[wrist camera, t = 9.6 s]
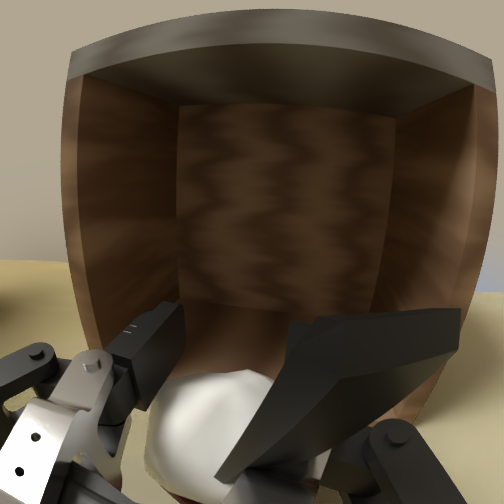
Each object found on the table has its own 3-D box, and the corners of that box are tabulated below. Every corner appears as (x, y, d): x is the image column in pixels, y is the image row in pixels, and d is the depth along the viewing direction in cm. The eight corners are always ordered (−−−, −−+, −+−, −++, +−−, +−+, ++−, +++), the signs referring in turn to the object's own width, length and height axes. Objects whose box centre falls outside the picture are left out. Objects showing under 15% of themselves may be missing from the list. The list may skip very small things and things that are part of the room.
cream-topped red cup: (192, 413, 14) (190, 195, 11) (301, 432, 13) (348, 211, 10) (124, 545, 5) (-47, 243, 2) (283, 583, 4) (533, 333, 1)
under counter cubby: (99, 380, 18) (71, 51, 11) (173, 298, 32) (173, 91, 25) (408, 429, 14) (491, 59, 7) (375, 322, 28) (405, 104, 21)
